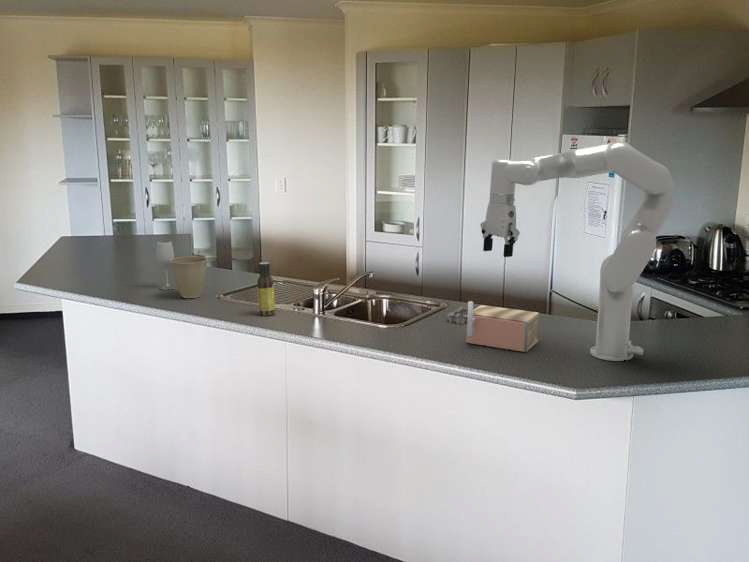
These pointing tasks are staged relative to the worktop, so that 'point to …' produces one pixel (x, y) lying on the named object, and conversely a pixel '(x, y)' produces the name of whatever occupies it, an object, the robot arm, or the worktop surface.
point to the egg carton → (459, 315)
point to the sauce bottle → (265, 290)
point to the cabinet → (513, 319)
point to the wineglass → (164, 255)
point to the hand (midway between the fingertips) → (497, 253)
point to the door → (496, 332)
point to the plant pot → (189, 274)
